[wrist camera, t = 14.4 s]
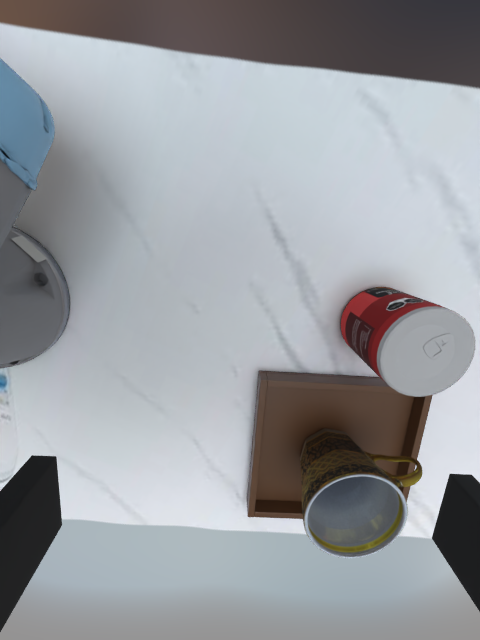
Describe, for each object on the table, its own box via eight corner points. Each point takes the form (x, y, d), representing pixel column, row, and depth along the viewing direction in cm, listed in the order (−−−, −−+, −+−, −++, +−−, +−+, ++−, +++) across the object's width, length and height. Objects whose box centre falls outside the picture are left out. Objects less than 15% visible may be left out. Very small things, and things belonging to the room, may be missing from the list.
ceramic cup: (312, 497, 43) (336, 574, 33) (272, 442, 41) (284, 507, 31) (402, 448, 41) (453, 514, 32) (364, 387, 39) (408, 439, 30)
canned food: (421, 310, 37) (496, 341, 27) (375, 364, 39) (428, 414, 28) (370, 271, 36) (427, 288, 25) (324, 328, 38) (360, 367, 27)
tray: (246, 501, 44) (247, 517, 41) (258, 370, 39) (260, 379, 36) (392, 506, 44) (401, 522, 42) (421, 379, 40) (434, 389, 37)
